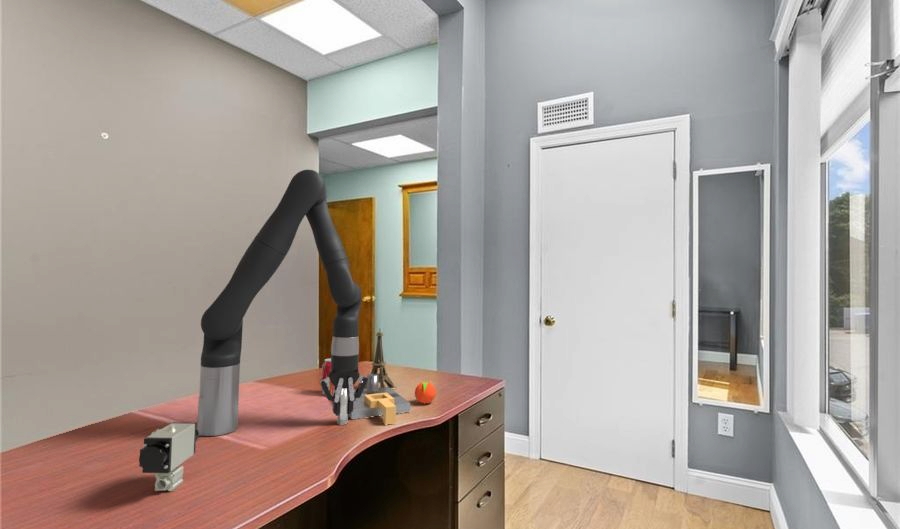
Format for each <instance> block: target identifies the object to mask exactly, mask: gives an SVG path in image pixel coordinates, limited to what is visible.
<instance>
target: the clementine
mask: <svg viewBox="0 0 900 529" xmlns="http://www.w3.org/2000/svg"><path fill="white" fill-rule="evenodd" d="M436 394H437V392H436V388H435V386H434V384H432V383H430V382H428V381H423V382H420V383H418V384H417V386H416V387H415V390H414V396H415V399H416V401H417V402H418V403H421V404H423V403H427V404H430V403H432V402H433V400H434V399H435V398H436Z"/></svg>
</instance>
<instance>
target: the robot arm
mask: <svg viewBox="0 0 900 529" xmlns="http://www.w3.org/2000/svg"><path fill="white" fill-rule="evenodd" d="M325 183H326V182H325V181H324V179H323V177H322V176H321V174H320V173H318V172H317V171H315V170H313V169H303V170H300V171H298V172H297V173H296V174H294V176H292V178H291V180H290V182H289V184H288V185H287V187H286V190H285V192H284V194H283V196H282V197H281V199H280V201H279V203H278V204H277V206H276V207H275V209H274V211H273V212H272V214H270V216H269V217H268V219H267V220H266V221H265V223H264V224H263V226H262V227H261V229H259V231H258V233H257V234H256V235H255V237H254V238H253V239H252V241H251V242H250V244H249V246H248V247H247V249H246V250H245V252H244V254H243V256H242V257H241V259H240V260H239V262H238V265H237V266H236V268H235V270H234V272H233V274H232V275H231V278H230V280H229V281H228V283H227V284H226V286H225V287H224V288H223V290H222V291H221V292H220V293H219V295H218V296H217V297H216V299H215V300H214V301H213V302H212V303H211V304H210V305H209V307H208V308H207V309H206V310H205V311H204V312H203V314H202V316H201V319H200V328H201V330H202V333H203V342H202V344H203V345H202V352H201V354H200V369H199V371H200V373H199V376H200V377H199V393H198V394H199V395H198V399H197V400H198V403H197V422H196V423H197V424H196V429H197V430H198V433H199V436H204V437H213V436H214V437H215V436H223V435H227V434H231V433H233V432H235V431H236V430H237V429H238V425H239V424H238V423H239V400H240V398H239V397H240V396H239V395H240V374H241V372H240V371H241V354H242V347H243V346H242V344H243V341H242V340H243V328H244V327H243V322H244V320H243V319H244V317H245V316H246V314H247V311H248V309H249V308H250V306H251V304H252V302H253V301H254V299H255V298H256V296H257V295H258V293H260V291H261V290H262V289H263V288H264V286H265V285H266V284H267V283H268V282H269V281H270V280H271V278H272V277H273V276H274V274H275V273H276V272H277V270H278V269H279V267H280V266H281V264H282V263H283V261H284V260H285V258H286V256H287V255H288V253H289V251H290V250H291V247H292V245H293V242H294V240H295V237H296V235H297V232H298V229H299V227H300V225H301V223H302V221H303V219H304V217H306V219H307V221H308V223H309V226H310V229H311V231H312V234H313V238H314V243H315V246H316V249H317V252H318V253H317V254H318V256H319V258H320V261H321V263H322V267H323V269H324V271H325V274H326V277H327V285H328V289H329V294H330V296H331V297H332V300H333V302H334V303H335V304H336V315H335V317H334V319H333V325H332V341H331V348H330V352H331V353H330V354H331V355H330V358H331V372H330V374H329V377H327V378H326V379H324V380H323V379H322V378H321V379H320V380H319V385H320V387H321V390H322V389H323V391H324V393H325V395H326V396H325V395H324V396H325V398H326V399H327V400H328V401H329V402H332V413H333V414H334V415H335V417H338V416H339V402H338V401H339V397H340V394H341V389H344V388H348V389H349V399H348V414H351V412H353V403H354V400H355V399H356V398H360V396H361V394H362V392H363V390H364V388H365V386H366V384H367V381H368V378H367V376H365V375H361V374H360V372H359V358H360V357H359V356H360V354H359V352H360V342H359V341H360V340H359V331H360V328H359V326H360V325H359V324H360V323H359V318H360V312H361V307H362V306H361V305H362V289H361V287H360V285H358V283H357V282H355V281H354V280H353V277H352V274H351V271H350V268H351V266H350V261H349V258H348V256H347V253H346V251H345V248H344V245H343V243H342V240H341V238H340V236H339V234H338V232H337V230H336V228H335V225H334V223H333V221H332V217H331V215H330V211H329V206H328V200H327V195H326V194H327V189H326V184H325ZM329 381H331V382H332V384H333V385H334V394H333V396H332V395H331V394H330V391H329V389H328V386H329ZM357 381H358V385H357V387H356V389H354V386H355V384H356V383H357ZM354 390H356V391H355V393H354Z"/></svg>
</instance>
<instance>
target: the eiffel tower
mask: <svg viewBox="0 0 900 529" xmlns="http://www.w3.org/2000/svg"><path fill="white" fill-rule="evenodd" d="M375 337H377V339H376V340H377V341H376V345H375V346H376V347H375V353H374V359H373V362H371V365H372V369H371V373H370V374H378V375H379V379H378V384H379V385H380V387H379V388H386V387H389V388H394V387H396V386H395V384H394V383H393V381H392V379H391V378H390V377H389V376H388V373H387V371H386V366H385V365H386V361H385V358H384V350H383V349H384V348H383V337H384V332H381V329H379V331H378V332H376V335H375ZM378 370H379V371H378ZM385 384H386V385H385ZM365 389H367V384H366V386H365V388H364V390H365Z"/></svg>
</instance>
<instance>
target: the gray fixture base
mask: <svg viewBox="0 0 900 529" xmlns="http://www.w3.org/2000/svg"><path fill="white" fill-rule="evenodd" d="M366 377H367V378H368V381H367V389H365V390H363V392H362V394H361V396H360V398H356V399H355V400H354V403H353V412H351V414H348V418H349V417H350V418H351V419H356V420H359V419H358V418H364V419H366V418H365V417H371V416H379V415H383V412H382V411H381V410H380V409H379V408H378V407H376V408H370V407H369V406H368V405H367V404H366V403H365V402H364V395H368V394H378V393H388V394H389V395H390V396H392V397H393V398H394V405H395V406H396V413H402V412H409V411H410V412H411V402H409V400H407V399H406V398H405V397H403V396H401V395H400V394H399V393H398V392H396V391H395V390H394V389H391V388H389V387H388V386H386V388H380V387H379V382H378V379H379V375H378V374H371V373H368V374H366ZM355 391H356V389H354V393H355ZM350 418H349V419H350ZM351 419H350V420H351Z"/></svg>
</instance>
